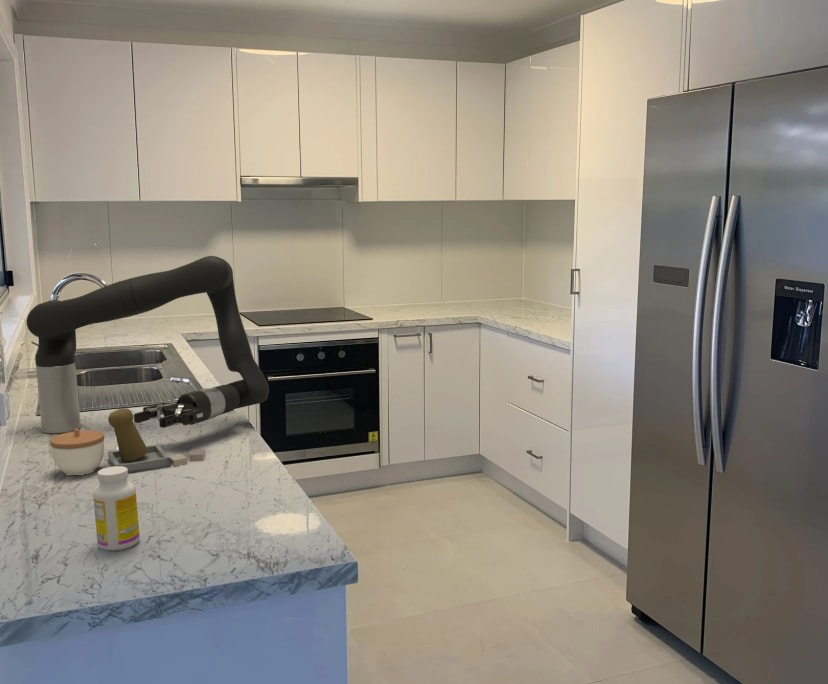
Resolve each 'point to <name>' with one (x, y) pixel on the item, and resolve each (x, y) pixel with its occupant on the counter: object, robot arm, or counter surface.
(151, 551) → the counter surface
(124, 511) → the supplement bottle
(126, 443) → the pepper mill
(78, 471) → the lidded jar
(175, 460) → the tan block
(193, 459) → the beige rectangular block
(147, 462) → the parts tray
